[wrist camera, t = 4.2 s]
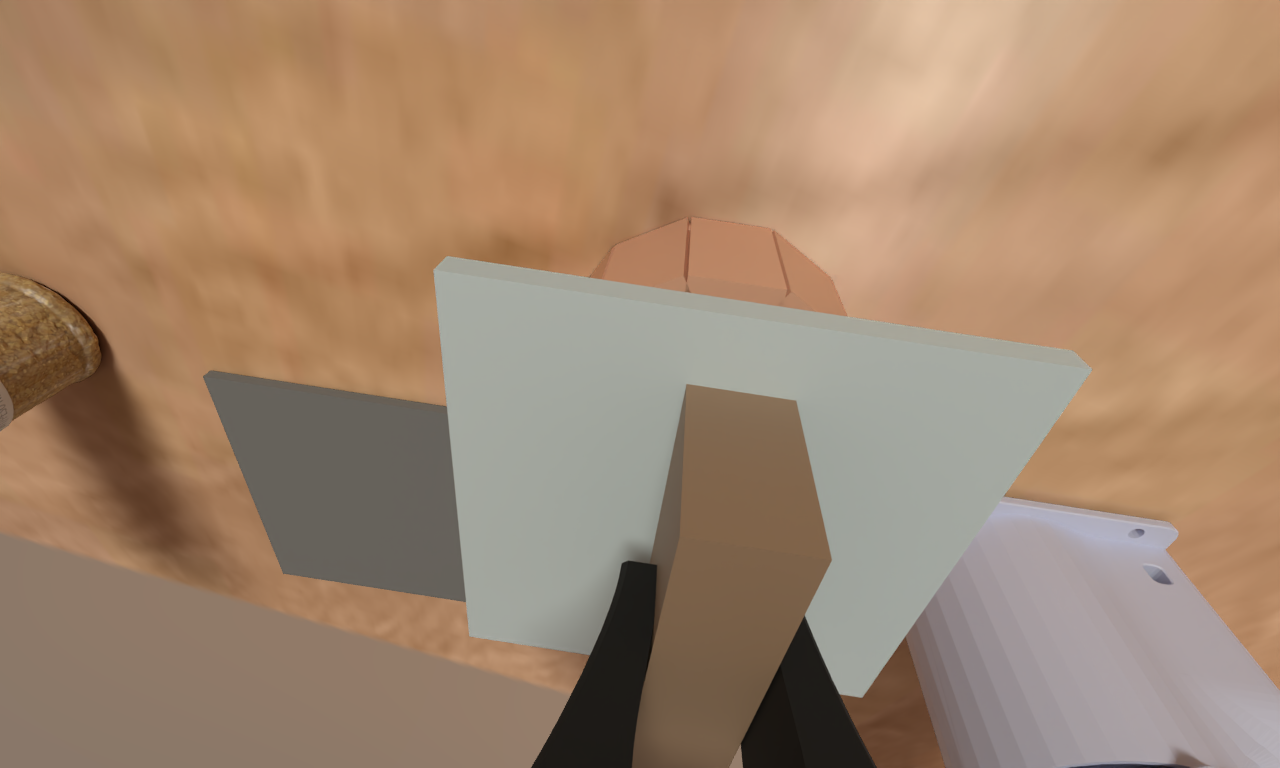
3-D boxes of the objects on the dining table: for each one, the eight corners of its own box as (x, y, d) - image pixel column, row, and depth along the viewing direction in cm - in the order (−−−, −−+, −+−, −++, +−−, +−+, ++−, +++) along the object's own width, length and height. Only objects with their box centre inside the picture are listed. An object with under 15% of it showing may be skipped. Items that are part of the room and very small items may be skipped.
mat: (525, 418, 21) (521, 425, 21) (524, 603, 28) (522, 610, 28) (210, 370, 21) (202, 376, 21) (288, 566, 28) (283, 573, 28)
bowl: (886, 246, 16) (932, 311, 13) (798, 470, 21) (815, 557, 18) (576, 199, 16) (544, 253, 13) (563, 434, 22) (538, 515, 18)
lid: (1073, 350, 10) (1265, 537, 6) (857, 676, 16) (897, 855, 13) (447, 256, 10) (315, 391, 7) (476, 616, 16) (417, 779, 13)
